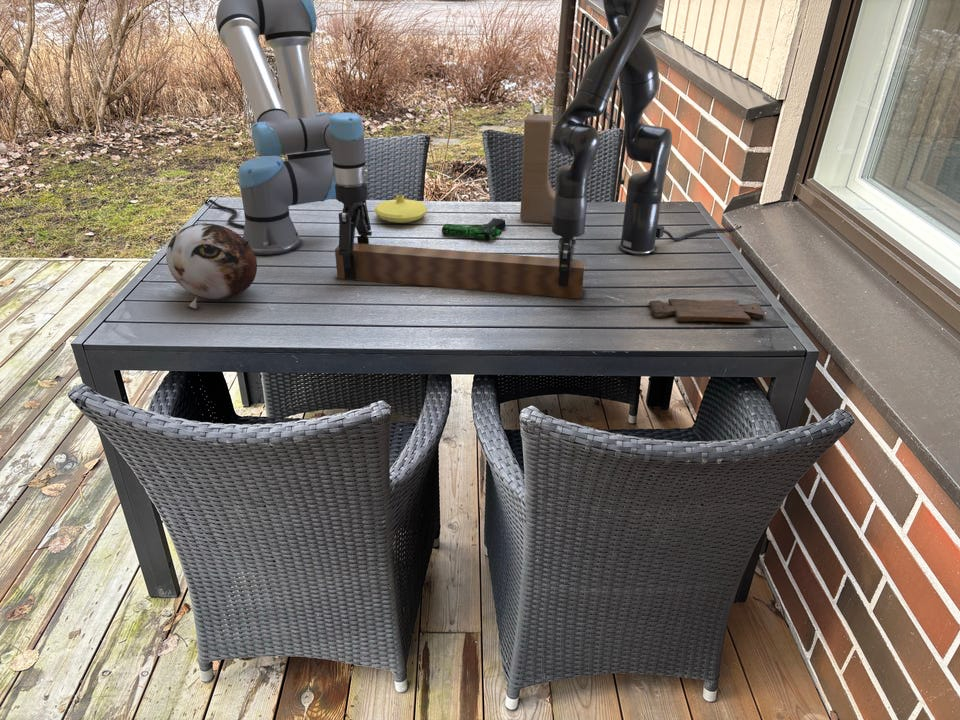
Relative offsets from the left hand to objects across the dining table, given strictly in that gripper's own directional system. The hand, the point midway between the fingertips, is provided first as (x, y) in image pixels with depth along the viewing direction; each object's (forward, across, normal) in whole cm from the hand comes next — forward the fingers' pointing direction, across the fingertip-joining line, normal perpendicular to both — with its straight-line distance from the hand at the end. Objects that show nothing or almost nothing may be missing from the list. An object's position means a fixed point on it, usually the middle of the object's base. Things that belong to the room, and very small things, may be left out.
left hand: (357, 269), depth 179 cm
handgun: (+2, +36, -24) cm, 44 cm away
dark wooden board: (+2, -5, -85) cm, 85 cm away
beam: (+2, 0, -26) cm, 26 cm away
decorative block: (+2, +51, -43) cm, 67 cm away
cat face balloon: (+2, -17, +29) cm, 34 cm away
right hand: (-1, 0, -52) cm, 52 cm away
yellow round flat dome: (+2, +43, 0) cm, 43 cm away
